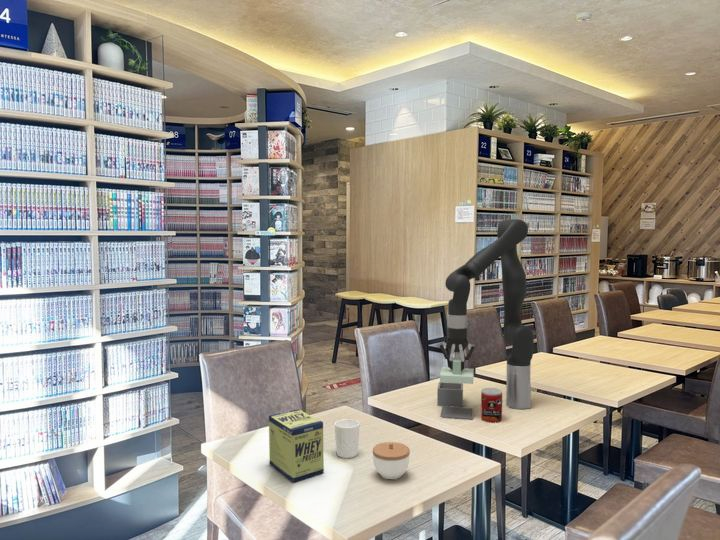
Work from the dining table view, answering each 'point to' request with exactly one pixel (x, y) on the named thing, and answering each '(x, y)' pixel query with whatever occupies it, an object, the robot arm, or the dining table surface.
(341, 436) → the white cup
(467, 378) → the lid
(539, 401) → the dining table surface
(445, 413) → the mat
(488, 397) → the canned food
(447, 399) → the tub
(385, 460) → the lidded jar
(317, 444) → the protein box
